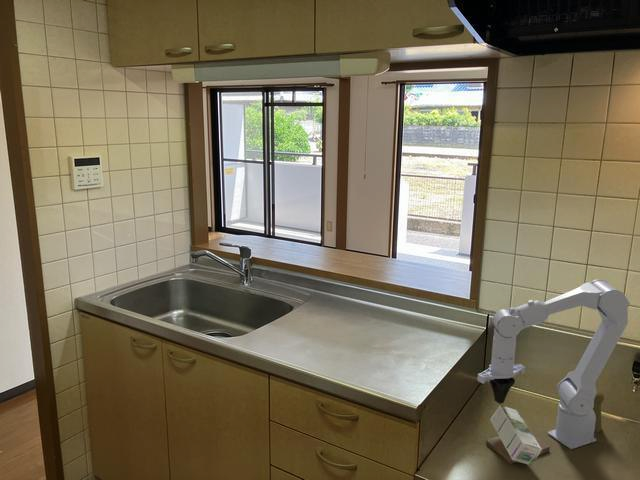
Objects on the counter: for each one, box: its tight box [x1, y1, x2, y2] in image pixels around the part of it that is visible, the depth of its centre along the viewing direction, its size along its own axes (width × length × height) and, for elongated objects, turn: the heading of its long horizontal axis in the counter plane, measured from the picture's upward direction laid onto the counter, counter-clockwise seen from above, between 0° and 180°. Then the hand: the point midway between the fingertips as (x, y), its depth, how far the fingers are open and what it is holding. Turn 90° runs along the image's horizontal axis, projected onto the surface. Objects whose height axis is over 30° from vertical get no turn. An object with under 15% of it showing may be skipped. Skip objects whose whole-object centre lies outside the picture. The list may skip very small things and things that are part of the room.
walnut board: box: [485, 434, 551, 465], centre depth 137 cm, size 13×9×1 cm
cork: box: [593, 388, 605, 433], centre depth 146 cm, size 6×6×11 cm
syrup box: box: [489, 404, 542, 466], centre depth 134 cm, size 6×6×14 cm
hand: (499, 401), depth 141 cm, fingers closed
